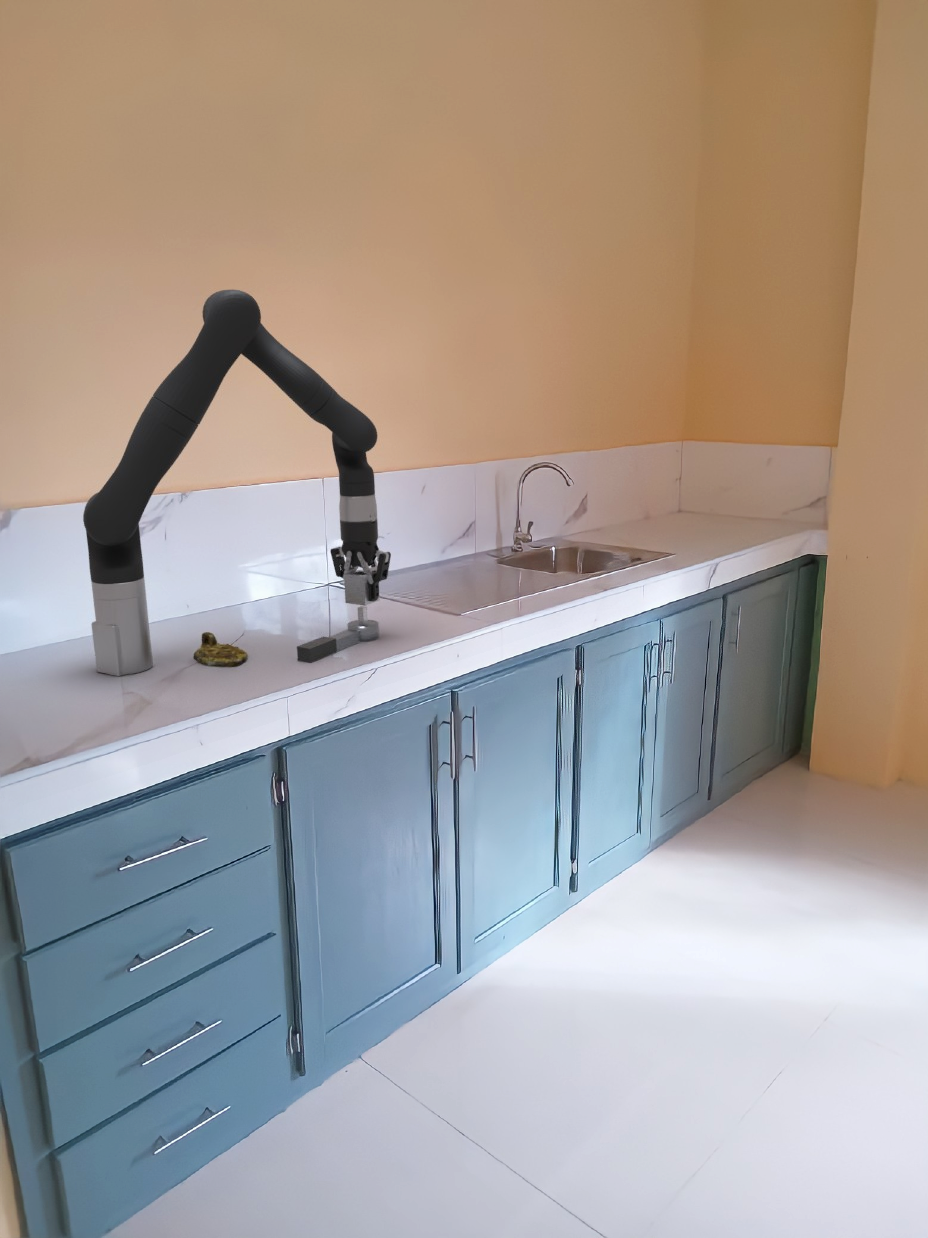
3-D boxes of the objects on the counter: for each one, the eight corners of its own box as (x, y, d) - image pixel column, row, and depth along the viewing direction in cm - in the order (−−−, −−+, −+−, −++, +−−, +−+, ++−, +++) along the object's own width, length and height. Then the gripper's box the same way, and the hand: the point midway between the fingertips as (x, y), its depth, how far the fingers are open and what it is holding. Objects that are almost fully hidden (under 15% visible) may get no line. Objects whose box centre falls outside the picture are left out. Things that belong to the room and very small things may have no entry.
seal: (261, 667, 181) (223, 650, 192) (261, 644, 180) (223, 628, 191) (216, 673, 175) (180, 655, 186) (217, 648, 174) (180, 631, 185)
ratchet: (360, 631, 200) (359, 602, 198) (385, 635, 197) (384, 605, 195) (291, 659, 182) (289, 626, 180) (317, 664, 178) (315, 631, 177)
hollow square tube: (365, 605, 191) (363, 576, 189) (345, 602, 193) (343, 574, 191) (379, 600, 195) (378, 571, 193) (360, 597, 197) (358, 569, 196)
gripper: (318, 517, 190) (323, 599, 194) (376, 522, 183) (380, 607, 187) (341, 512, 196) (345, 591, 200) (398, 516, 189) (401, 599, 193)
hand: (362, 598), depth 194 cm, fingers closed on hollow square tube, 5 cm apart
